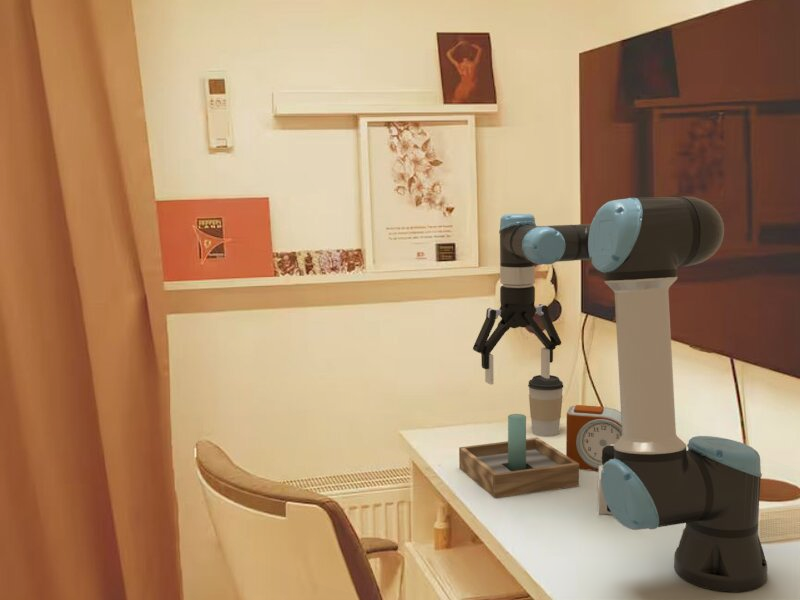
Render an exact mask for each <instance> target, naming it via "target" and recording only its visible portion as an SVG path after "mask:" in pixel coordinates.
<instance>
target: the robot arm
mask: <svg viewBox="0 0 800 600" xmlns="http://www.w3.org/2000/svg"><path fill="white" fill-rule="evenodd" d="M498 233H499V257H500V258H499V262H500V263H499V267H500V268H499V269H500V270H499V278H500V279H499V282H500V284H501V286H500V288H499V301H500V307H499V309H494V308H490V307H489V308H486V314H485V319H484V322H483V323H482V326H481V329H480V331H479V333H478V335H477V337H476V340H475V342H474V345H473V346H472V350H473V351H475V352H476V353H478V354H481V368H482V369H484V370H485V371H484V376H485V377H484V379H485V380H484V382H485V383H486V384H489V386H490V385H494V354H491V352H492V351H493V350H494V348H495V347H496V346H497V344H498V343H499V342H500V340H501V339H502V337H504V335H505V333H506V332H508V331H509V330H510V328H511V329H517V328H527V327H528V328H529V329H530V331H531V332H532V333H533V334H534V335H535V336H536V337H537V339H538V340H539V341H540V342H541V344H543V346H544V347H540V375H541V376H542V377H544V378H546V379H548V378H550V373H551V371H550V370H551V369H550V366H551V365H550V364H551V363H553V361H554V350H555V349H556V347H557V346H561V345H562V341H561V338H560V336H559V334H558V332H557V330H556V328H555V325H554V323H553V321H552V319H551V316H550V314H549V307H548V306H547V305H546V304H543V303H542V304H541V303H540V304H538V305H537V306H536V305H535V301H536V287H535V286H534V284H535V283H536V265H552V264H555V263H559V262H571V261H573V262H574V261H591V264H592V266H593V267H594V269H595V270H597V271H599V272H602V273H603V275H604V277H603V278H604V284H606V285H607V286H608V287H609V288H610V289H611V290H612V291H613V293H614V307H615V326H616V328H615V329H616V342H617V348H616V349H617V362H618V381H619V383H618V385H619V399H620V400H619V403H620V412H621V421H622V437H621V438H620V439H619V440H618V441H617V442H616V443H615V444H614V459H610V460H609V461H607V462H606V463H605V464H604V466H603V469H602V471H601V485H602V491H603V495H604V498H605V500H606V503H607V505H608V507H609V509H610V510H611V512H612V514H613V515H612V516H613V517H614V519H615V520H617V522H618V523H619V524H620V525H621V526H622V527H625V528H627V529H629V530H634V531H635V530H636V531H637V530H638V531H639V530H647V529H648V530H656V529H658V528H662V527H669V526H675V525H681V524H685V525H684V529H683V531H682V534H681V538H680V539H679V543H678V547H676V549H675V552H674V558H673V568H674V571H675V573H676V574H677V575H678V576H680V577H681V578H682V579H683V580H685V581H687V582H689V583H691V584H692V585H695V586H698V587H701V588H704V589H708V590H713V591H719V592H728V593H729V592H733V593H735V592H740V593H741V592H747V591H748V592H749V591H752V590H755V589H758V588H760V587H762V586H763V585H764V584H766V583H767V579H768V563H767V559H766V556H765V553H764V549H763V545H762V542H761V540H760V536H759V514H760V513H759V511H760V493H761V478H762V474H763V473H762V471H761V455H760V454H759V452H758V451H757V450H756V449H754V448H753V447H752V446H749V445H747V444H746V443H743V442H740V441H737V440H734V439H730V438H729V439H728V438H724V437H721V436H719V437H718V436H711V435H710V436H709V435H698V436H697V435H696V436H693V437H691V438H690V439H689V440H688V443H687V444H686V443H685V442H684V440H682V439H681V438H680V437H678V435H677V430H676V429H677V428H676V411H675V410H676V408H675V391H674V375H673V374H674V373H673V372H674V371H673V370H674V369H673V354H672V353H673V352H672V334H671V318H670V316H671V315H670V298H669V297H670V296H669V295H670V294H669V289H670V287H671V286H672V285H673V284H674V283H675V282H676V281H677V280H678V268H680V267H689V266H694V265H699V264H701V263H704V262H705V261H707V260H709V259H710V258H712V256H714V255H715V254H716V253H717V252H718V250H719V248H720V247H721V246H722V243H723V241H724V237H725V225H724V221H723V218H722V216H721V214H720V213H719V211H718V210H717V209H716V208H715V207H714V206H713V205H712V204H710V203H709V202H707V201H706V200H703V199H701V198H698V197H695V196H675V197H674V196H673V197H671V196H669V197H667V196H666V197H659V196H658V197H628V198H621V199H614V200H609V201H607V202H606V203H605V204H603V205H602V206H601V207H599V209H598V210H597V211H596V213H595V216H593V219H592V221H591V223H583V224H562V225H561V224H558V225H554V224H553V225H536V218H535V216H534V214H530V213H507V214H504V215H502V216H501V218H500V223H499V232H498ZM536 314H537V315H538V316H539V319H540V321H541V323H542V324H543V327H544V330H545V331H546V333H547V335H546V333H544V331H543V330H542V328H541V327H540V326H539V324H538V323H537V322H536V321H535V319H534V317H535V315H536ZM498 317H500V318H501V319H500V320H499V322H498V324H497V326H496V328H495V329H494V331H493V332H492V330H493V328H494V326H495V322H496V320H497V319H498ZM491 332H492V333H491ZM490 334H491V335H490ZM687 448H688V449H687Z"/></svg>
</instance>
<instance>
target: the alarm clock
mask: <svg viewBox="0 0 800 600" xmlns="http://www.w3.org/2000/svg"><path fill="white" fill-rule="evenodd" d="M621 437H622V421H621V411H619V410H617V409H615V408H611V407H604V406H597V405H583V404H582V405H581V404H575V405H573V406H571V405H570V407H569V408H568V409H567V411H566V437H565V438H566V439H565V440H566V444H565V445H566V446H565V448H566V449H565V450H566V451H565V452H566V453H565V455H566V456H568V457H569V458H571V459H572V460H574V461H576V462H577V463H579V470H585V471H587V470H588V471H597V472H598V470H599V466H600V465H602V449H603V448H604V447H605V446H608V445H612V444H615V443H616V442H617V441H618V440H619V439H620V438H621Z"/></svg>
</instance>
